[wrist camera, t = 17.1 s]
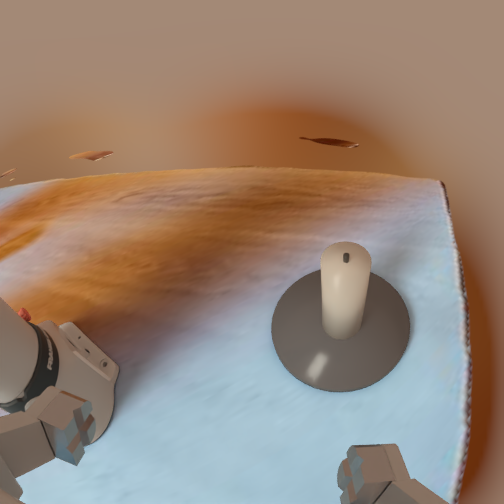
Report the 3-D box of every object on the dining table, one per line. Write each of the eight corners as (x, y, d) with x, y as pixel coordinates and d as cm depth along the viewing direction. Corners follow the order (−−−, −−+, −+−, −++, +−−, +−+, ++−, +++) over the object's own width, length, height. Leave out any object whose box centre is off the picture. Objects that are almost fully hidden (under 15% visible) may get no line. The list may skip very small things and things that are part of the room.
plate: (244, 339, 41) (242, 334, 40) (326, 253, 48) (325, 248, 47) (356, 420, 31) (357, 418, 30) (429, 309, 38) (431, 304, 37)
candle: (314, 326, 39) (309, 260, 30) (337, 299, 41) (338, 229, 32) (346, 346, 36) (354, 284, 27) (368, 317, 38) (381, 249, 29)
